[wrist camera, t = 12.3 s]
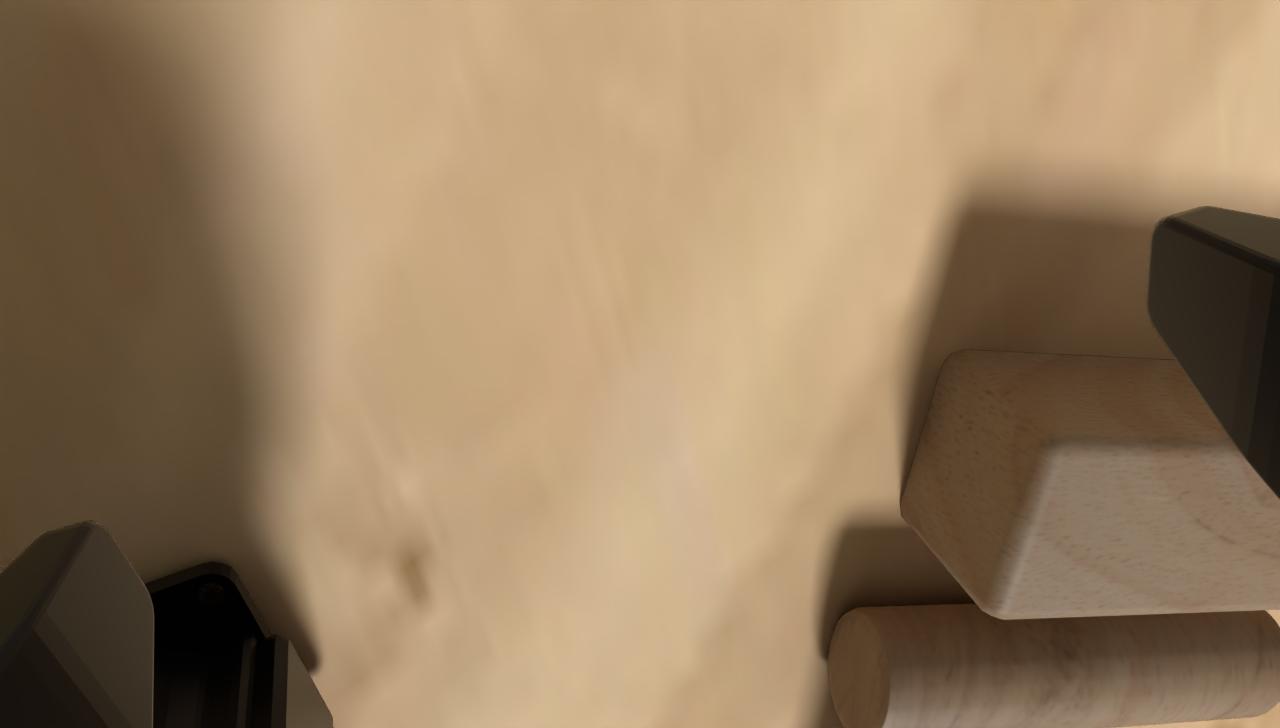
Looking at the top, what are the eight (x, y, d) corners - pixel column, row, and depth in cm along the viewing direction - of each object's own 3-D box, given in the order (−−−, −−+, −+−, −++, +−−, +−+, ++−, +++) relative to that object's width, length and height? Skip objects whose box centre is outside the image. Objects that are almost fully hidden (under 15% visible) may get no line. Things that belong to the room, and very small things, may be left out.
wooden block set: (1045, 461, 20) (1692, 470, 26) (902, 336, 25) (1471, 366, 31) (832, 1061, 27) (1382, 968, 32) (753, 870, 32) (1241, 817, 37)
